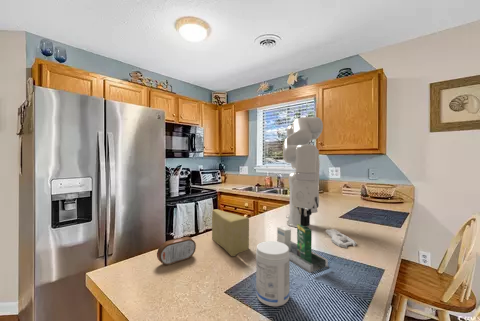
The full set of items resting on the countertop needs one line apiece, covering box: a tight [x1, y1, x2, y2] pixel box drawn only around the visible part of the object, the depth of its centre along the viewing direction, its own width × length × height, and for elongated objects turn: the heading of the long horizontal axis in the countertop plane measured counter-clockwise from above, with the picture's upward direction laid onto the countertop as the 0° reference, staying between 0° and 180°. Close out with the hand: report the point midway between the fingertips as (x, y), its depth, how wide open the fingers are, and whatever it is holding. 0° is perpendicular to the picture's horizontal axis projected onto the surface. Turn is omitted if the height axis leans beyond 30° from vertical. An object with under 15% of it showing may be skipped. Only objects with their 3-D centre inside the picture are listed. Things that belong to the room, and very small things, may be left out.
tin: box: [156, 236, 197, 266], centre depth 85 cm, size 15×3×8 cm, turn 129°
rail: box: [289, 240, 330, 277], centre depth 87 cm, size 10×22×4 cm, turn 29°
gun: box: [325, 228, 357, 249], centre depth 107 cm, size 18×4×10 cm
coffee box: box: [296, 224, 313, 263], centre depth 84 cm, size 8×3×13 cm, turn 6°
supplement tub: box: [255, 240, 290, 307], centre depth 63 cm, size 10×10×15 cm
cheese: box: [211, 209, 250, 257], centre depth 99 cm, size 22×10×15 cm, turn 39°
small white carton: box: [276, 225, 292, 251], centre depth 94 cm, size 5×3×9 cm, turn 29°
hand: (305, 225), depth 83 cm, fingers closed
